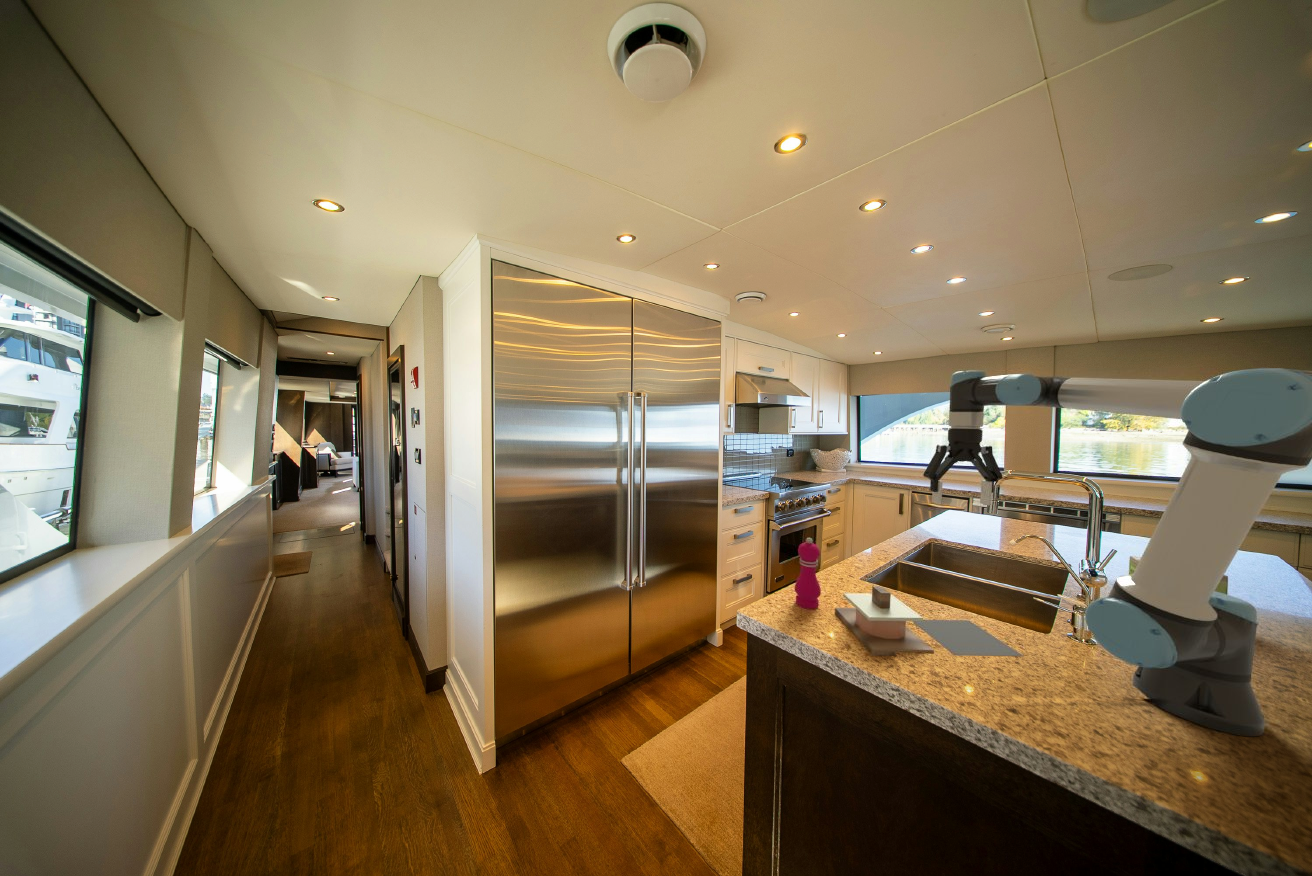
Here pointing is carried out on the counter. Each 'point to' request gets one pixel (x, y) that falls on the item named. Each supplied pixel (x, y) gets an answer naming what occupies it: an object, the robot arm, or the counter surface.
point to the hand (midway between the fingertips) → (960, 504)
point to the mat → (965, 638)
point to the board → (882, 644)
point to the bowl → (881, 627)
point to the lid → (881, 606)
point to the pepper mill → (808, 576)
